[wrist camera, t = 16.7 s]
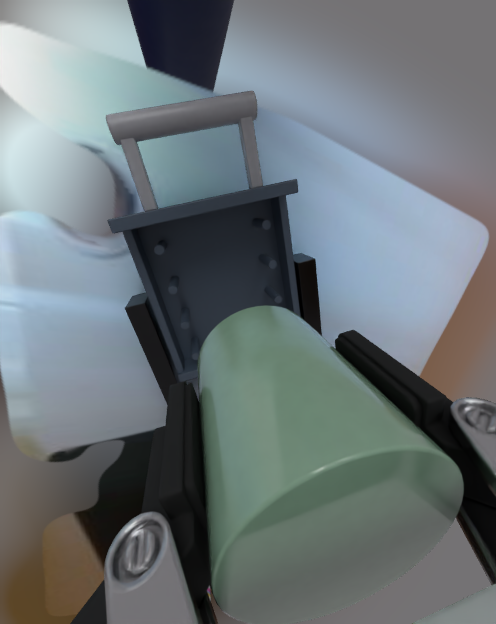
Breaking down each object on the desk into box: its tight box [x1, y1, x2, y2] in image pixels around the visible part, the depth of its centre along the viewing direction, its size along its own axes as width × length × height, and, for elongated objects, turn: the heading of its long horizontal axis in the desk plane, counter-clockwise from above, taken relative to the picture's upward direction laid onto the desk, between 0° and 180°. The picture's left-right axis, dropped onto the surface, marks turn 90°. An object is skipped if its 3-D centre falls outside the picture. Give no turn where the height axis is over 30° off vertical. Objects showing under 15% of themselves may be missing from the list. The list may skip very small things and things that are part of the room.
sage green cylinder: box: [197, 306, 464, 624], centre depth 8 cm, size 6×6×7 cm
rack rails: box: [125, 253, 322, 405], centre depth 26 cm, size 18×16×3 cm
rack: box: [106, 91, 300, 382], centre depth 20 cm, size 19×12×5 cm, turn 11°
